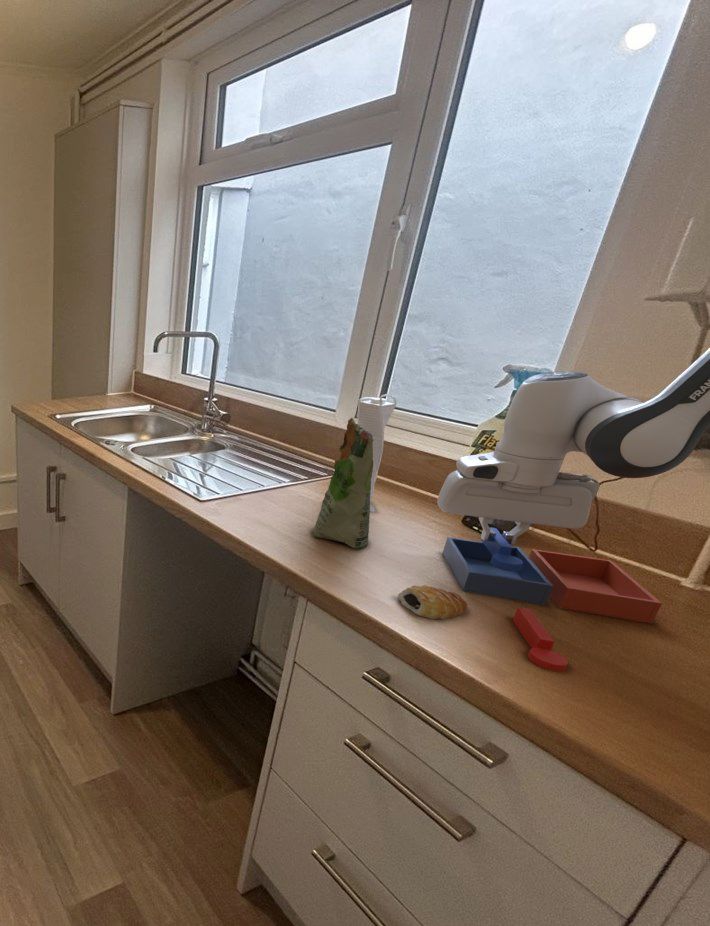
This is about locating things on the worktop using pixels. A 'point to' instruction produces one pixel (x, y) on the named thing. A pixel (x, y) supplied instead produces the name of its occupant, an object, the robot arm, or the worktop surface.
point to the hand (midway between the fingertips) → (496, 541)
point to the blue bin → (495, 573)
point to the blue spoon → (502, 553)
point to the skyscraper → (375, 428)
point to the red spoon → (538, 641)
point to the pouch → (349, 491)
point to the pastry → (432, 602)
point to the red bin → (595, 586)
